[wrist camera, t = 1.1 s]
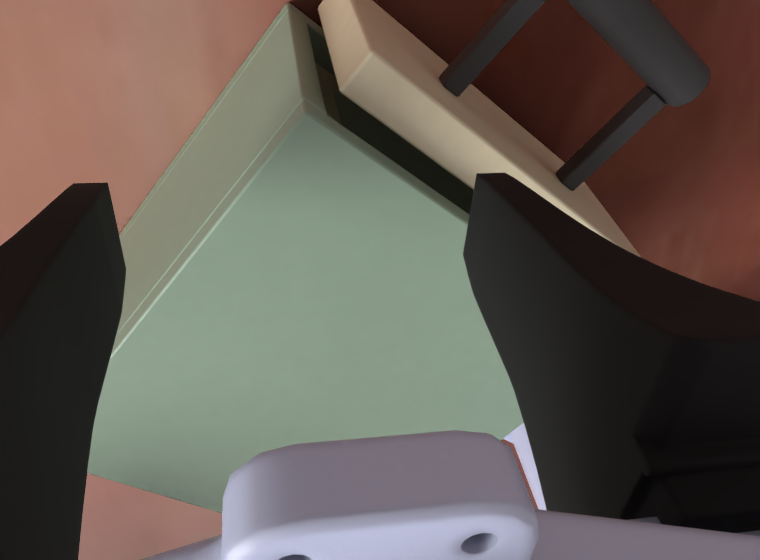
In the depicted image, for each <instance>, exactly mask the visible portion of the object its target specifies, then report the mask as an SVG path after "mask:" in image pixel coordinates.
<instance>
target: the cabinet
mask: <svg viewBox="0 0 760 560" xmlns="http://www.w3.org/2000/svg"><path fill="white" fill-rule="evenodd" d="M315 62H316V63H317V64H318V65H320V66H321V67H322V68H324V69H325V70H326V71H328V72H329V73H330V74H332V75H333V76H334V77H336V76H335V72H334V68H333V65H332V61H331V57H330V54H329V50H328V46H327V42H326V39H325V35H324V31H323V28H321V27H320V26H319V25H317V24H316V23H315V22H314V21H312V20H311V19H310V18H309V17H307V16H306V15H305V14H303V13H302V12H301V11H300V10H298V9H297V8H296V7H294V6H293V5H292V4H291V3H286V4H285V5H284V7H283V8H282V9H281V11H280V12H279V14H278V15H277V16H276V18H275V19H274V21H273V22H272V23H271V25H270V26H269V28H268V29H267V30H266V32H265V33H264V34H263V36H262V37H261V39H260V40H259V41H258V43H257V44H256V46H255V47H254V48H253V50H252V51H251V52H250V54H249V55H248V57H247V58H246V59H245V61H244V62H243V64H242V65H241V66H240V68H239V69H238V71H237V72H236V73H235V75H234V76H233V77H232V79H231V80H230V82H229V83H228V84H227V86H226V87H225V89H224V90H223V91H222V93H221V94H220V96H219V97H218V98H217V100H216V101H215V102H214V104H213V105H212V107H211V108H210V109H209V111H208V112H207V114H206V115H205V116H204V118H203V119H202V120H201V122H200V123H199V125H198V126H197V127H196V129H195V130H194V132H193V133H192V134H191V136H190V137H189V139H188V140H187V141H186V143H185V144H184V145H183V147H182V148H181V150H180V151H179V152H178V154H177V155H176V157H175V158H174V159H173V161H172V162H171V163H170V165H169V166H168V168H167V169H166V170H165V172H164V173H163V175H162V176H161V177H160V179H159V180H158V182H157V183H156V184H155V186H154V187H153V188H152V190H151V191H150V193H149V194H148V195H147V197H146V198H145V200H144V201H143V202H142V204H141V205H140V207H139V208H138V209H137V211H136V212H135V213H134V215H133V216H132V218H131V219H130V220H129V222H128V223H127V225H126V226H125V227H124V229H123V230H122V231H121V233H120V234H119V238H120V242H121V247H122V252H123V256H124V261H125V266H126V278H125V289H124V298H123V307H122V314H121V318H120V322H119V326H118V330H117V334H116V338H115V342H114V345H113V349H112V353H111V357H110V360H109V364H108V368H107V372H106V376H105V379H104V383H103V387H102V391H101V394H100V398H99V402H98V406H97V411H96V416H95V420H94V425H93V432H92V440H91V447H90V454H89V462H88V469H87V473H89V474H92V475H95V476H99V477H102V478H105V479H109V480H112V481H116V482H119V483H122V484H126V485H129V486H132V487H136V488H139V489H142V490H146V491H149V492H153V493H156V494H159V495H163V496H166V497H169V498H173V499H176V500H179V501H183V502H186V503H189V504H193V505H196V506H200V507H203V508H206V509H210V510H213V511H216V512H220V513H222V511H223V496H224V492H225V489H226V486H227V483H228V480H229V477H230V474H232V473H233V472H234V471H236V470H237V469H239V468H240V467H241V466H243V465H244V464H245V463H247V462H248V461H249V460H251V459H252V458H253V457H255V456H256V455H258V454H259V453H261V452H265V451H269V450H273V449H277V448H281V447H285V446H289V445H293V444H300V443H312V442H323V441H335V440H346V439H358V438H369V437H381V436H392V435H404V434H415V433H427V432H438V431H450V430H459V431H470V432H480V433H487V434H491V435H493V436H494V437H496V438H497V439H498V440H500V441H501V440H502V439H503V438H504V437H506V436H507V435H508V434H510V433H511V432H512V431H513V430H515V429H516V428H517V427H519V426H520V425H521V424H522V423H524V422H523V418H522V415H521V412H520V408H519V405H518V402H517V398H516V395H515V392H514V389H513V386H512V384H511V381H510V379H509V376H508V373H507V371H506V369H505V366H504V364H503V362H502V360H501V357H500V355H499V353H498V350H497V348H496V346H495V344H494V341H493V339H492V337H491V334H490V332H489V330H488V328H487V325H486V323H485V321H484V318H483V316H482V314H481V311H480V309H479V306H478V304H477V302H476V299H475V297H474V294H473V291H472V288H471V284H470V281H469V277H468V273H467V269H466V265H465V261H464V257H463V251H464V245H465V239H466V233H467V227H468V221H469V214H468V213H466V212H465V211H463V210H462V209H461V208H459V207H458V206H456V205H455V204H453V203H452V202H451V201H449V200H448V199H446V198H445V197H443V196H442V195H441V194H439V193H438V192H436V191H435V190H433V189H432V188H431V187H429V186H428V185H426V184H425V183H423V182H422V181H421V180H419V179H418V178H416V177H415V176H413V175H412V174H411V173H409V172H408V171H406V170H405V169H403V168H402V167H401V166H399V165H398V164H396V163H395V162H393V161H392V160H391V159H389V158H388V157H386V156H385V155H384V154H382V153H381V152H379V151H378V150H376V149H375V148H374V147H372V146H371V145H369V144H368V143H366V142H365V141H364V140H362V139H361V138H359V137H358V136H356V135H355V134H354V133H352V132H351V131H349V130H348V129H346V128H345V127H344V126H342V125H341V124H339V123H338V122H336V121H335V120H334V119H332V118H331V117H329V116H328V115H326V109H325V104H324V100H323V95H322V90H321V86H320V81H319V77H318V72H317V67H316V63H315Z"/></svg>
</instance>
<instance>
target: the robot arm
mask: <svg viewBox="0 0 760 560" xmlns="http://www.w3.org/2000/svg"><path fill="white" fill-rule="evenodd" d="M463 257H464V261H465V265H466V269H467V273H468V277H469V281H470V284H471V288H472V291H473V294H474V297H475V299H476V302H477V304H478V306H479V309H480V311H481V314H482V316H483V318H484V321H485V323H486V325H487V328H488V330H489V332H490V334H491V337H492V339H493V341H494V344H495V346H496V348H497V350H498V353H499V355H500V357H501V360H502V362H503V364H504V366H505V369H506V371H507V373H508V376H509V379H510V381H511V384H512V386H513V389H514V392H515V395H516V398H517V402H518V405H519V408H520V412H521V415H522V418H523V422H524V423H522V424H521V425H520V426H519V427H517V428H516V429H515V430H513V431H512V432H511V433H510V434H508V435H507V436H506V437H504V438H503V439H505V440H507V441H509V442H511V443H514V446H515V448H516V451H517V454H518V456H519V459H520V462H521V464H522V467H523V470H524V472H525V475H526V477H527V480H528V483H529V485H530V488H531V491H532V493H533V496H534V499H535V501H536V504H537V506H538V509H534V508H533V505H532V502H531V500H530V497H529V494H528V492H527V489H526V486H525V483H524V481H523V478H522V475H521V473H520V470H519V467H518V465H517V462H516V459H515V457H514V454H513V451H512V449H511V448H510V447H508V446H507V445H506V444H504V443H503V442H501V441H500V440H498V439H497V438H496V437H494V436H493V435H491V434H487V433H480V432H470V431H459V430H450V431H438V432H427V433H415V434H404V435H392V436H381V437H369V438H358V439H346V440H335V441H323V442H312V443H300V444H293V445H289V446H285V447H281V448H277V449H273V450H269V451H265V452H261V453H259V454H258V455H256V456H255V457H253V458H252V459H251V460H249V461H248V462H247V463H245V464H244V465H243V466H241V467H240V468H239V469H237V470H236V471H234V472H233V473H232V474H230V477H229V480H228V483H227V486H226V489H225V492H224V496H223V511H222V534H221V535H218V536H215V537H212V538H208V539H205V540H202V541H199V542H196V543H192V544H189V545H186V546H183V547H179V548H176V549H173V550H170V551H167V552H163V553H160V554H157V555H154V556H151V557H147V558H144V559H141V560H760V302H759V301H755V300H752V299H748V298H745V297H742V296H738V295H735V294H732V293H729V292H725V291H722V290H719V289H716V288H714V287H711V286H708V285H705V284H702V283H699V282H697V281H694V280H692V279H689V278H687V277H684V276H682V275H679V274H676V273H674V272H671V271H669V270H667V269H664V268H662V267H660V266H658V265H655V264H653V263H651V262H649V261H647V260H645V259H643V258H641V257H639V256H637V255H635V254H633V253H631V252H629V251H627V250H625V249H623V248H621V247H619V246H618V245H616V244H614V243H612V242H610V241H609V240H607V239H605V238H604V237H602V236H600V235H599V234H597V233H595V232H594V231H592V230H590V229H589V228H587V227H586V226H584V225H583V224H581V223H579V222H578V221H576V220H575V219H573V218H572V217H570V216H569V215H567V214H566V213H564V212H563V211H561V210H560V209H559V208H557V207H556V206H554V205H553V204H551V203H550V202H549V201H547V200H546V199H544V198H543V197H541V196H540V195H539V194H537V193H536V192H534V191H533V190H531V189H530V188H529V187H527V186H526V185H524V184H523V183H521V182H520V181H518V180H517V179H515V178H514V177H512V176H510V175H509V174H507V173H477V174H476V180H475V186H474V192H473V198H472V204H471V209H470V215H469V221H468V227H467V233H466V239H465V245H464V251H463ZM125 278H126V266H125V261H124V256H123V252H122V247H121V242H120V238H119V233H118V229H117V224H116V219H115V215H114V210H113V205H112V201H111V196H110V192H109V187H108V183H77V184H72V185H71V186H70V187H68V188H67V189H66V190H65V191H64V192H63V193H61V194H60V195H59V196H58V197H57V198H56V199H55V200H54V201H52V202H51V203H50V204H49V205H48V206H47V207H46V208H45V209H44V210H43V211H41V212H40V213H39V214H38V215H37V216H36V217H35V218H33V219H32V220H31V221H30V222H29V223H28V224H27V225H25V226H24V227H23V228H22V229H21V230H20V231H18V232H17V233H16V234H15V235H14V236H13V237H11V238H10V239H9V240H8V241H6V242H5V243H4V244H2V245H1V246H0V560H78V553H79V543H80V532H81V522H82V512H83V503H84V495H85V486H86V478H87V469H88V462H89V454H90V447H91V440H92V432H93V425H94V420H95V416H96V411H97V406H98V402H99V398H100V394H101V391H102V387H103V383H104V379H105V376H106V372H107V368H108V364H109V360H110V357H111V353H112V349H113V345H114V342H115V338H116V334H117V330H118V326H119V322H120V318H121V314H122V307H123V298H124V289H125Z"/></svg>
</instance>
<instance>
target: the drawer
mask: <svg viewBox="0 0 760 560" xmlns="http://www.w3.org/2000/svg"><path fill="white" fill-rule="evenodd" d="M545 1H546V0H506V1H505V2H504V3H503V4H502V5H501V6H500V8H499V9H498V10H497V11H496V12H495V13H494V14H493V16H492V17H491V18H490V19H489V20H488V21H487V22H486V24H485V25H484V26H483V27H482V28H481V29H480V30H479V32H478V33H477V34H476V35H475V36H474V37H473V38H472V40H471V41H470V42H469V43H468V44H467V45H466V46H465V47H464V49H463V50H462V51H461V52H460V53H459V54H458V55H457V57H456V58H455V59H454V60H453V61H452V62H451V63H450V65H448V64H447V63H446V62H445V61H444V60H442V59H441V58H440V57H439V56H438V55H436V54H435V53H434V52H433V51H432V50H431V49H429V48H428V47H427V46H426V45H425V44H423V43H422V42H421V41H420V40H419V39H418V38H416V37H415V36H414V35H413V34H412V33H410V32H409V31H408V30H407V29H406V28H404V27H403V26H402V25H401V24H400V23H399V22H397V21H396V20H395V19H394V18H393V17H391V16H390V15H389V14H388V13H387V12H386V11H384V10H383V9H382V8H381V7H380V6H378V5H377V4H376V3H375V2H374V1H373V0H323V1H322V2H321V4H320V5H319V6H318V12H319V16H320V20H321V24H322V27H323V31H324V35H325V39H326V42H327V46H328V50H329V54H330V57H331V61H332V65H333V68H334V72H335V76H336V77H334V76H333V75H332V74H330V73H329V72H328V71H326V70H325V69H324V68H322V67H321V66H320V65H318V64H317V63H316V62H315V63H316V67H317V72H318V77H319V81H320V86H321V90H322V95H323V100H324V104H325V109H326V115H328V116H329V117H331V118H332V119H334V120H335V121H336V122H338V123H339V124H341V125H342V126H344V127H345V128H346V129H348V130H349V131H351V132H352V133H354V134H355V135H356V136H358V137H359V138H361V139H362V140H364V141H365V142H366V143H368V144H369V145H371V146H372V147H374V148H375V149H376V150H378V151H379V152H381V153H382V154H384V155H385V156H386V157H388V158H389V159H391V160H392V161H393V162H395V163H396V164H398V165H399V166H401V167H402V168H403V169H405V170H406V171H408V172H409V173H411V174H412V175H413V176H415V177H416V178H418V179H419V180H421V181H422V182H423V183H425V184H426V185H428V186H429V187H431V188H432V189H433V190H435V191H436V192H438V193H439V194H441V195H442V196H443V197H445V198H446V199H448V200H449V201H451V202H452V203H453V204H455V205H456V206H458V207H459V208H461V209H462V210H463V211H465V212H466V213H468V214H469V215H470V209H471V204H472V198H473V192H474V186H475V180H476V174H477V173H507V174H509V175H510V176H512V177H514V178H515V179H517V180H518V181H520V182H521V183H523V184H524V185H526V186H527V187H529V188H530V189H531V190H533V191H534V192H536V193H537V194H539V195H540V196H541V197H543V198H544V199H546V200H547V201H549V202H550V203H551V204H553V205H554V206H556V207H557V208H559V209H560V210H561V211H563V212H564V213H566V214H567V215H569V216H570V217H572V218H573V219H575V220H576V221H578V222H579V223H581V224H583V225H584V226H586V227H587V228H589V229H590V230H592V231H594V232H595V233H597V234H599V235H600V236H602V237H604V238H605V239H607V240H609V241H610V242H612V243H614V244H616V245H618V246H619V247H621V248H623V249H625V250H627V251H629V252H631V253H633V254H635V255H637V256H639V257H641V256H640V255H639V254H638V252H637V251H636V250H635V248H634V247H633V246H632V244H631V243H630V242H629V240H628V239H627V238H626V236H625V235H624V234H623V232H622V231H621V230H620V228H619V227H618V226H617V224H616V223H615V222H614V220H613V219H612V218H611V216H610V215H609V214H608V212H607V211H606V210H605V208H604V207H603V206H602V204H601V203H600V202H599V200H598V199H597V198H596V196H595V195H594V194H593V192H592V191H591V190H590V189H589V187H588V186H587V185H586V183H585V182H584V181H585V180H586V179H587V178H588V177H589V176H590V175H591V174H592V173H594V172H595V171H596V170H597V169H598V168H599V167H600V166H601V165H602V164H603V163H604V162H605V161H606V160H607V159H609V158H610V157H611V156H612V155H613V154H614V153H615V152H616V151H617V150H618V149H619V148H620V147H621V146H623V145H624V144H625V143H626V142H627V141H628V140H629V139H630V138H631V137H632V136H633V135H634V134H635V133H636V132H638V131H639V130H640V129H641V128H642V127H643V126H644V125H645V124H646V123H647V122H648V121H649V120H650V119H652V118H653V117H654V116H655V115H656V114H657V113H658V112H659V111H660V110H661V109H662V108H663V107H664V106H665V105H666V104H667V105H669V106H681V105H684V104H687V103H689V102H691V101H692V100H694V99H695V98H696V97H698V96H699V95H700V94H701V93H702V92H703V90H704V89H705V88H706V86H707V85H708V82H709V80H710V69H709V67H708V66H707V65H706V64H705V63H704V61H703V60H702V59H701V58H700V57H699V56H698V54H697V53H696V52H695V51H694V50H693V49H692V47H691V46H690V45H689V44H688V43H687V42H686V40H685V39H684V38H683V37H682V36H681V35H680V33H679V32H678V31H677V30H676V29H675V28H674V27H673V25H672V24H671V23H670V22H669V21H668V20H667V18H666V17H665V16H664V15H663V14H662V13H661V11H660V10H659V9H658V8H657V7H656V6H655V4H654V3H653V2H652V1H651V0H567V1H568V2H569V3H570V5H571V6H572V7H573V8H574V9H575V10H576V11H577V12H578V13H579V14H580V15H581V16H582V17H583V18H584V19H585V20H586V21H587V22H588V23H589V24H590V25H591V26H592V27H593V28H594V30H595V31H596V32H597V33H598V34H599V35H600V36H601V37H602V38H603V39H604V40H605V41H606V42H607V43H608V44H609V45H610V46H611V47H612V48H613V49H614V50H615V51H616V52H617V54H618V55H619V56H620V57H621V58H622V59H623V60H624V61H625V62H626V63H627V64H628V65H629V66H630V67H631V68H632V69H633V70H634V71H635V72H636V73H637V74H638V75H639V76H640V77H641V79H642V80H643V81H644V82H645V83H646V84H647V85H648V86H649V87H648V86H645V87H644V88H643V89H642V90H641V91H640V92H639V93H638V94H637V95H636V96H635V97H634V98H633V99H631V100H630V101H629V102H628V103H627V104H626V105H625V106H624V107H623V108H622V109H621V110H620V111H619V112H618V113H617V114H616V115H615V116H614V117H613V118H612V119H611V120H610V121H609V122H607V123H606V124H605V125H604V126H603V127H602V128H601V129H600V130H599V131H598V132H597V133H596V134H595V135H594V136H593V137H592V138H591V139H590V140H589V141H588V142H587V143H586V144H585V145H584V146H582V147H581V148H580V149H579V150H578V151H577V152H576V153H575V154H574V155H573V156H572V157H571V158H570V159H569V160H568V161H567V162H566V163H564V162H563V161H562V160H561V159H560V158H558V157H557V156H556V155H555V154H554V153H553V152H551V151H550V150H549V149H548V148H547V147H545V146H544V145H543V144H542V143H541V142H540V141H538V140H537V139H536V138H535V137H534V136H532V135H531V134H530V133H529V132H528V131H526V130H525V129H524V128H523V127H522V126H521V125H519V124H518V123H517V122H516V121H515V120H513V119H512V118H511V117H510V116H509V115H508V114H506V113H505V112H504V111H503V110H502V109H500V108H499V107H498V106H497V105H496V104H495V103H493V102H492V101H491V100H490V99H489V98H487V97H486V96H485V95H484V94H483V93H481V92H480V91H479V90H478V89H477V88H476V87H474V86H473V85H472V84H471V83H472V82H473V81H474V79H475V78H476V77H477V76H478V75H479V74H480V73H481V72H482V71H483V70H484V68H485V67H486V66H487V65H488V64H489V63H490V62H491V61H492V60H493V59H494V57H495V56H496V55H497V54H498V53H499V52H500V51H501V50H502V49H503V48H504V46H505V45H506V44H507V43H508V42H509V41H510V40H511V39H512V38H513V36H514V35H515V34H516V33H517V32H518V31H519V30H520V29H521V28H522V27H523V25H524V24H525V23H526V22H527V21H528V20H529V19H530V18H531V17H532V16H533V14H534V13H535V12H536V11H537V10H538V9H539V8H540V7H541V6H542V5H543V3H544V2H545Z"/></svg>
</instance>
